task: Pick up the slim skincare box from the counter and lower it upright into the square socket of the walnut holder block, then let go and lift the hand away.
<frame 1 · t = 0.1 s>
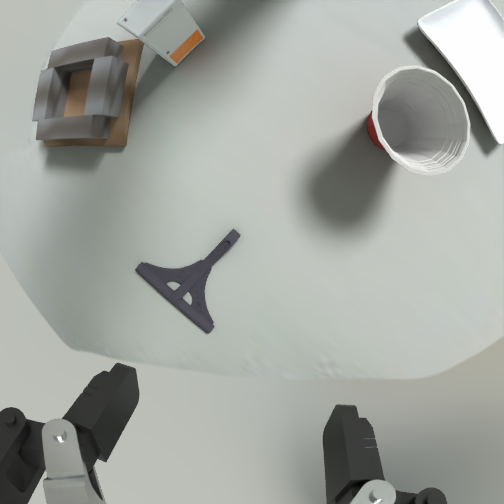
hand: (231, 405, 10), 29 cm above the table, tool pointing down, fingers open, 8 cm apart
plastic cup: (385, 129, 32), on the table
skincare box: (182, 45, 31), on the table
salad plate: (483, 60, 26), on the table
holder: (90, 94, 34), on the table
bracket: (203, 267, 41), on the table
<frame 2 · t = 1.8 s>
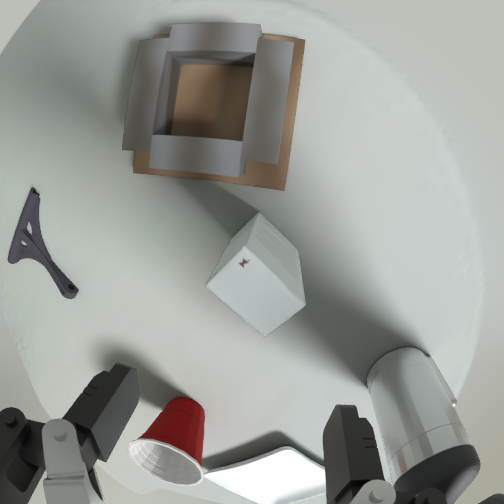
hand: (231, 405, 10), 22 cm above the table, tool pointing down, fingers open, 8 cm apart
plastic cup: (186, 407, 40), on the table
skincare box: (265, 244, 31), on the table
salad plate: (279, 471, 45), on the table
holder: (216, 103, 27), on the table
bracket: (49, 256, 36), on the table
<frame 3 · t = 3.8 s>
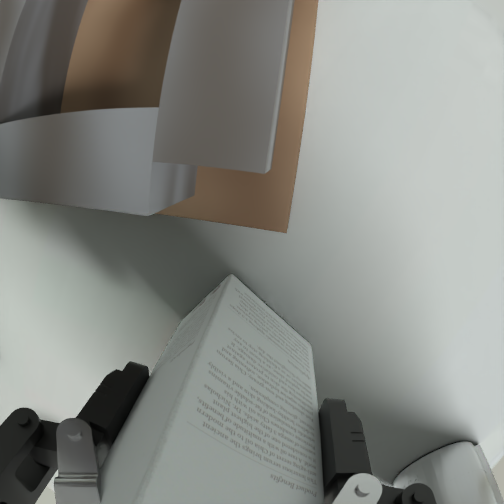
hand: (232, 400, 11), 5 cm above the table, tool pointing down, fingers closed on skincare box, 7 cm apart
skincare box: (247, 332, 15), on the table, touching gripper
holder: (144, 50, 11), on the table
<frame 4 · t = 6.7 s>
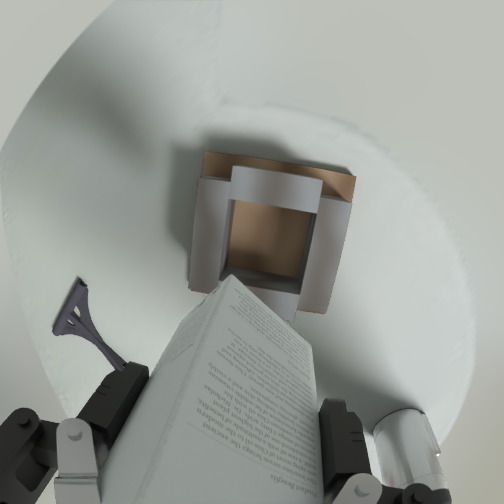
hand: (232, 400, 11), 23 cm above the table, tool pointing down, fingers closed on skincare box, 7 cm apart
skincare box: (247, 332, 15), point 18 cm above the table, touching gripper
holder: (269, 234, 33), on the table
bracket: (98, 335, 41), on the table
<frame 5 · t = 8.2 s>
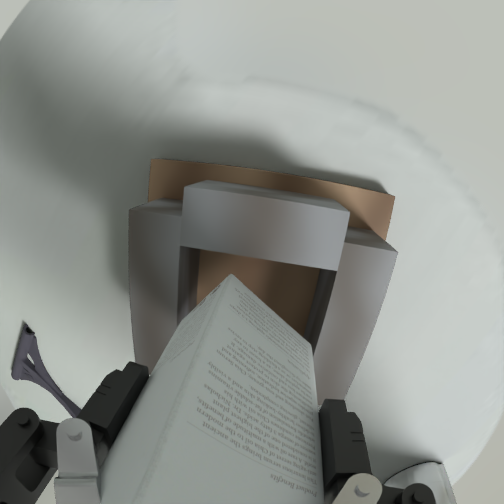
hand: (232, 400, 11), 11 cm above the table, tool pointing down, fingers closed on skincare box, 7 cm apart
skincare box: (247, 332, 15), point 6 cm above the table, touching gripper
holder: (256, 284, 21), on the table
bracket: (58, 385, 30), on the table
when the fingers open (7 cm above the table, at t = 9.6 s): skincare box drops 1 cm, resting on holder.
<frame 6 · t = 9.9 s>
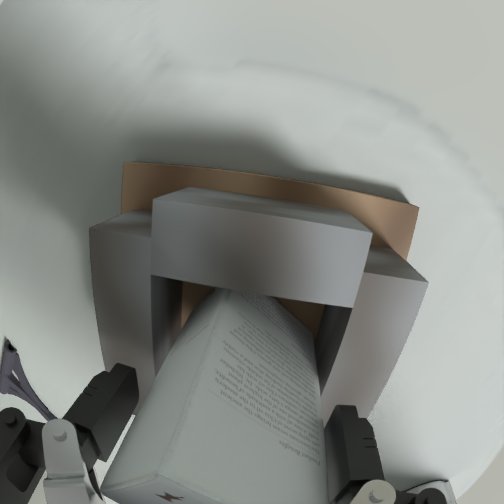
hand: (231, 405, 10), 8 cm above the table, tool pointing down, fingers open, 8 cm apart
skincare box: (253, 321, 17), point 1 cm above the table, touching holder
holder: (251, 310, 18), on the table
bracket: (45, 403, 26), on the table
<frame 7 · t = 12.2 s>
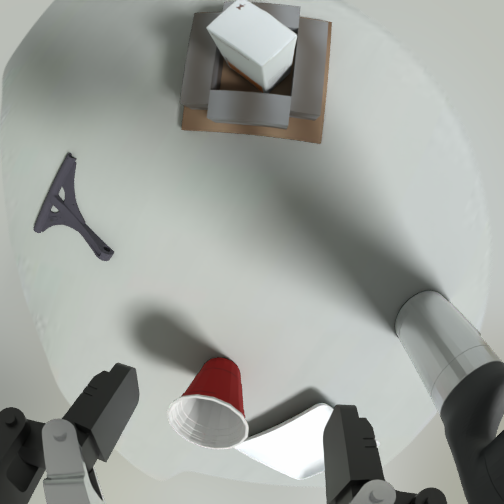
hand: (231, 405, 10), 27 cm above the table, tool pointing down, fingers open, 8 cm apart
plastic cup: (221, 369, 43), on the table
skincare box: (259, 70, 29), point 1 cm above the table, touching holder
salad plate: (309, 437, 49), on the table
holder: (258, 71, 30), on the table
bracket: (81, 221, 38), on the table
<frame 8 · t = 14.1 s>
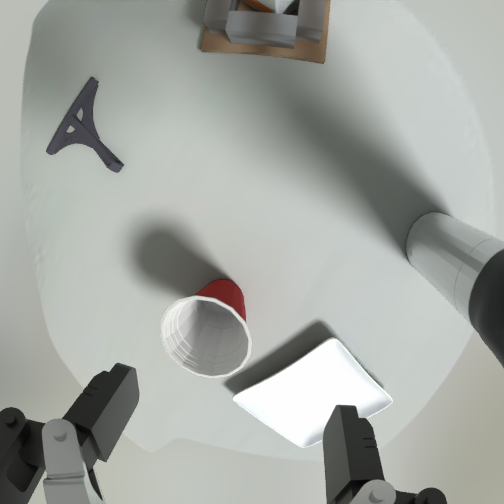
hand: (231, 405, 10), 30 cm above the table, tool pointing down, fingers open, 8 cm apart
plastic cup: (223, 294, 43), on the table
skincare box: (270, 5, 28), point 1 cm above the table, touching holder
salad plate: (315, 391, 47), on the table
holder: (269, 8, 29), on the table
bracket: (95, 139, 38), on the table
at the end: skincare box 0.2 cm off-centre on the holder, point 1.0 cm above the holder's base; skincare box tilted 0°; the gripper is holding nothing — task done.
